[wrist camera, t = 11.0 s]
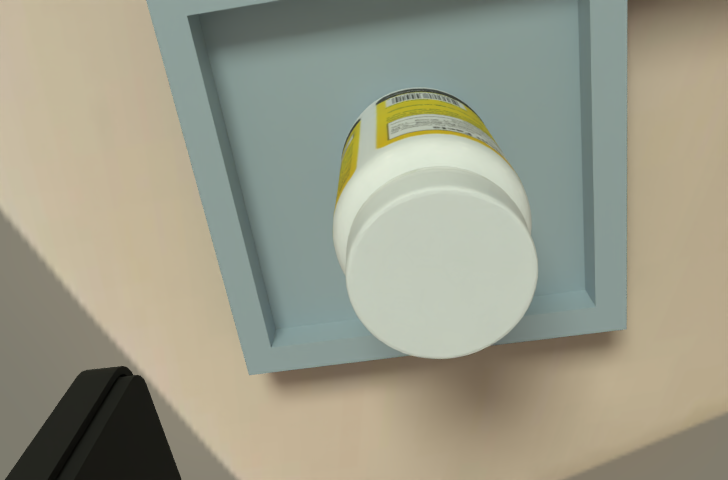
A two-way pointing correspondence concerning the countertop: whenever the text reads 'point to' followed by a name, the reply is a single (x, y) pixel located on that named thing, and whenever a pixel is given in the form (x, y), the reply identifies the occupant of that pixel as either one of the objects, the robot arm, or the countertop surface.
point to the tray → (342, 108)
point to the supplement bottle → (432, 227)
